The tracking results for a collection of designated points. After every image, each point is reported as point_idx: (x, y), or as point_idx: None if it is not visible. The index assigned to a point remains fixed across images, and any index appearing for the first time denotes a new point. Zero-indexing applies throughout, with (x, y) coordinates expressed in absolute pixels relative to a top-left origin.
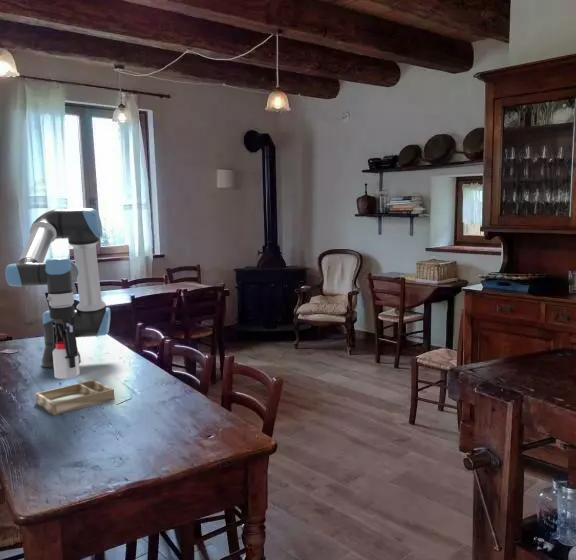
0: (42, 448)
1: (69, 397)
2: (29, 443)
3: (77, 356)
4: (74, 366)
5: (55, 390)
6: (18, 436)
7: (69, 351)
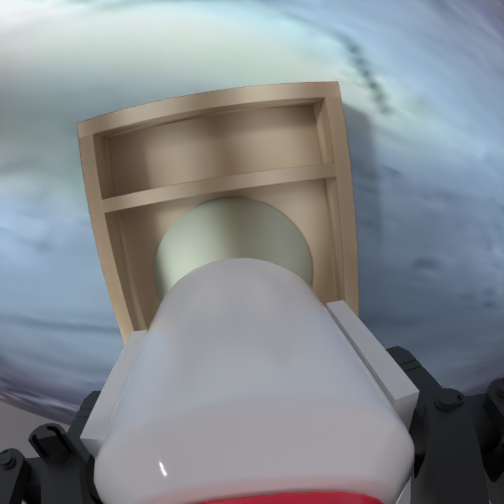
0: (498, 369)
1: (193, 269)
2: (464, 394)
3: (346, 353)
4: (402, 353)
5: (135, 329)
6: None
7: (501, 469)
